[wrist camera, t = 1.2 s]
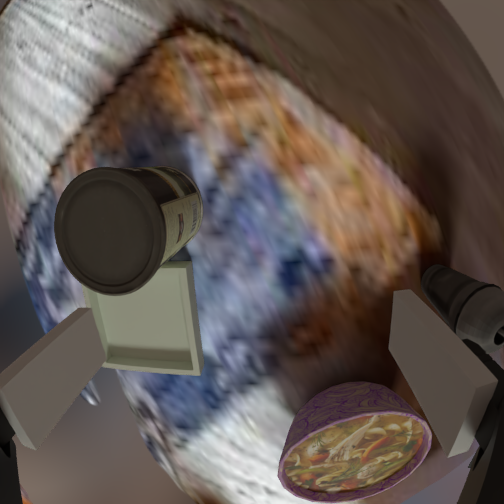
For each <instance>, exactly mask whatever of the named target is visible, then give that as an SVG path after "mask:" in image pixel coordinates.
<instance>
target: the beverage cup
mask: <svg viewBox="0 0 504 504" xmlns="http://www.w3.org/2000/svg"><path fill="white" fill-rule="evenodd" d="M421 289H422V291H423V293H424V294H425V295H426V297H427V299H428V300H429V301H430V302H431V304H432V305H433V306H434V308H435V309H436V310H437V311H438V313H439V314H440V315H441V317H442V318H443V319H444V320H445V322H446V323H447V324H448V326H449V327H450V329H451V330H452V331H453V332H454V333H455V334H456V335H457V336H458V337H459V338H460V339H461V340H463V339H469V340H471V341H473V342H475V343H477V344H479V345H480V346H481V347H482V348H483V349H484V350H485V351H486V354H489V353H493V352H495V351H497V350H499V349H500V348H501V347H502V346H503V345H504V292H503V291H502V290H501V288H500V287H499V286H496V285H494V284H488V283H485V282H480V281H477V280H475V279H473V278H471V277H469V276H467V275H464V274H462V273H460V272H458V271H455V270H453V269H451V268H449V267H446V266H443V265H440V264H437V265H433V266H431V267H430V268H428V269H427V270H426V271H425V273H424V274H423V277H422V280H421Z"/></svg>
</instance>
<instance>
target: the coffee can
mask: <svg viewBox="0 0 504 504" xmlns="http://www.w3.org/2000/svg"><path fill="white" fill-rule="evenodd" d="M202 216H203V204H202V199H201V195H200V192H199V190H198V189H197V187H196V185H195V183H194V182H193V181H192V180H191V179H190V178H189V177H188V176H187V175H186V174H184V173H183V172H181V171H180V170H178V169H175V168H172V167H168V166H156V167H138V168H112V167H99V168H94V169H91V170H88V171H86V172H84V173H82V174H80V175H78V176H77V177H76V178H75V179H73V180H72V181H71V182H70V183H69V185H68V186H67V187H66V189H65V190H64V192H63V193H62V195H61V197H60V200H59V202H58V205H57V208H56V213H55V221H54V232H55V239H56V244H57V247H58V251H59V253H60V256H61V258H62V260H63V262H64V264H65V266H66V267H67V269H68V270H69V271H70V273H71V274H72V275H73V276H74V277H75V278H76V279H77V280H78V281H79V282H80V283H81V284H83V285H84V286H85V287H87V288H89V289H90V290H92V291H94V292H97V293H100V294H103V295H108V296H122V295H127V294H130V293H133V292H135V291H137V290H139V289H140V288H142V287H143V286H144V285H145V284H146V283H148V282H149V281H150V280H151V278H152V277H153V276H154V275H155V273H156V272H157V271H158V270H159V269H160V268H161V267H162V266H163V265H164V264H165V263H166V262H167V261H168V260H169V259H170V258H171V257H173V256H174V255H175V254H176V253H177V252H178V251H179V250H180V249H181V248H182V247H183V246H185V245H186V244H188V243H189V242H190V241H191V240H192V239H193V238H194V236H195V235H196V233H197V232H198V230H199V228H200V225H201V221H202Z"/></svg>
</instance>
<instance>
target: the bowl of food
mask: <svg viewBox="0 0 504 504" xmlns="http://www.w3.org/2000/svg"><path fill="white" fill-rule="evenodd" d="M431 439H432V432H431V430H430V428H429V426H428V424H427V422H426V421H425V420H424V419H423V418H422V417H421V416H420V415H419V414H418V413H417V412H416V411H415V410H414V409H413V408H412V407H411V406H410V405H409V404H408V403H407V402H406V401H405V400H404V399H402V398H401V397H400V396H399V395H398V394H396V393H395V392H393V391H392V390H390V389H389V388H387V387H386V386H384V385H380V384H375V383H371V382H365V381H360V382H346V383H343V384H339V385H335V386H332V387H330V388H328V389H326V390H324V391H322V392H320V393H318V394H316V395H315V396H314V397H313V398H312V399H311V400H310V401H309V402H307V403H306V404H305V405H304V406H303V407H302V408H301V409H300V410H299V412H298V413H297V415H296V417H295V418H294V420H293V422H292V424H291V427H290V429H289V432H288V435H287V439H286V442H285V446H284V449H283V452H282V455H281V458H280V462H279V469H278V478H279V480H280V482H281V484H282V486H283V487H284V488H285V489H286V490H288V491H289V492H290V493H292V494H293V495H295V496H296V497H299V498H302V499H305V500H309V501H312V502H322V503H340V502H350V501H355V500H359V499H363V498H366V497H370V496H373V495H376V494H378V493H380V492H382V491H385V490H387V489H389V488H391V487H393V486H395V485H396V484H398V483H399V482H401V481H402V480H403V479H405V478H406V477H408V476H409V475H410V474H411V473H412V472H413V471H414V470H415V469H416V468H417V467H418V466H419V465H420V464H421V463H422V462H423V460H424V458H425V457H426V455H427V453H428V451H429V449H430V447H431Z"/></svg>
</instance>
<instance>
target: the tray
mask: <svg viewBox="0 0 504 504" xmlns="http://www.w3.org/2000/svg"><path fill="white" fill-rule="evenodd" d="M82 289H83V294H84V298H85V303H86V307H87V308H92V311H93V315H94V318H95V322H96V326H97V329H98V332H99V336H100V339H101V342H102V345H103V349H104V352H105V355H106V358H107V360H106V361H105V362H104V363H103V365H102V366H103V367H106V368H114V369H123V370H132V371H142V372H153V373H165V374H180V375H198V376H200V375H201V372H202V369H203V366H204V357H203V350H202V343H201V335H200V328H199V320H198V312H197V303H196V295H195V286H194V277H193V267H192V261H167V262H166V263H165V264H164V265H163V266H162V267H161V268H160V269H159V270H158V271H157V272H156V273H155V275H154V276H153V277H152V278H151V280H150V281H149V282H148V283H146V284H145V285H144V286H143V287H142V288H140V289H139V290H137V291H135V292H133V293H130V294H127V295H122V296H108V295H103V294H100V293H97V292H94V291H92V290H90V289H89V288H87V287H85V286H84V285H83V284H82Z"/></svg>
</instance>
